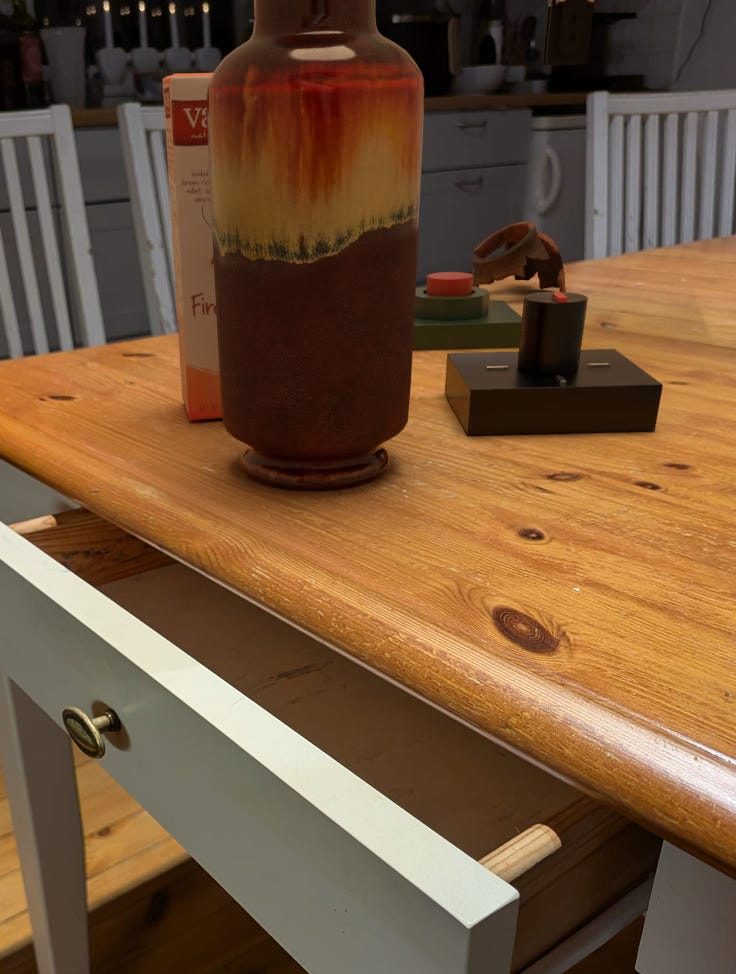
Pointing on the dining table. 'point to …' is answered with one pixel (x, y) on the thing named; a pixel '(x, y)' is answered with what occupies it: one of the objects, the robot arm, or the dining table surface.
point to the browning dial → (552, 332)
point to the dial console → (551, 395)
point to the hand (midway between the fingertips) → (564, 64)
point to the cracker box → (193, 242)
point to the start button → (449, 284)
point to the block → (464, 322)
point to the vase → (315, 240)
